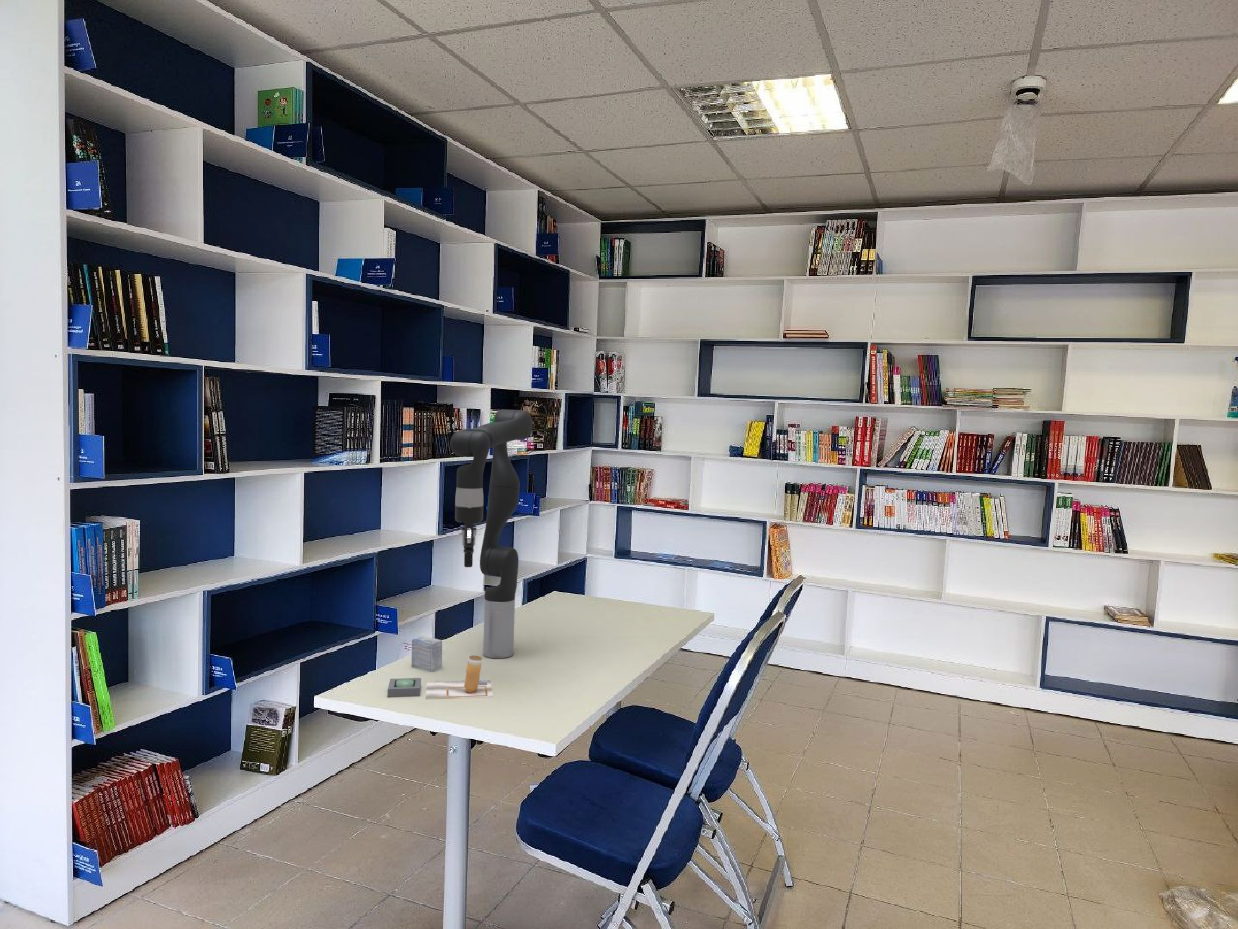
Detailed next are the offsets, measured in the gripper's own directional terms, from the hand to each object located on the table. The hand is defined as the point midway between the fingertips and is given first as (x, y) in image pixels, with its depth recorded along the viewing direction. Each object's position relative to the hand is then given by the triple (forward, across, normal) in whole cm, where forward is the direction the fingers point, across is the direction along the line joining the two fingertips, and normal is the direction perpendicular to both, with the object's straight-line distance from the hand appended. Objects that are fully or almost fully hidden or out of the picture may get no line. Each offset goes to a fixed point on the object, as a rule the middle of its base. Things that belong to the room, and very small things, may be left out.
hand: (468, 566), depth 220 cm
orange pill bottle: (+31, +11, +1) cm, 33 cm away
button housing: (+31, +9, -16) cm, 36 cm away
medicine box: (+32, -10, -11) cm, 35 cm away
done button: (+31, +9, -16) cm, 36 cm away
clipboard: (+32, +9, -2) cm, 33 cm away
